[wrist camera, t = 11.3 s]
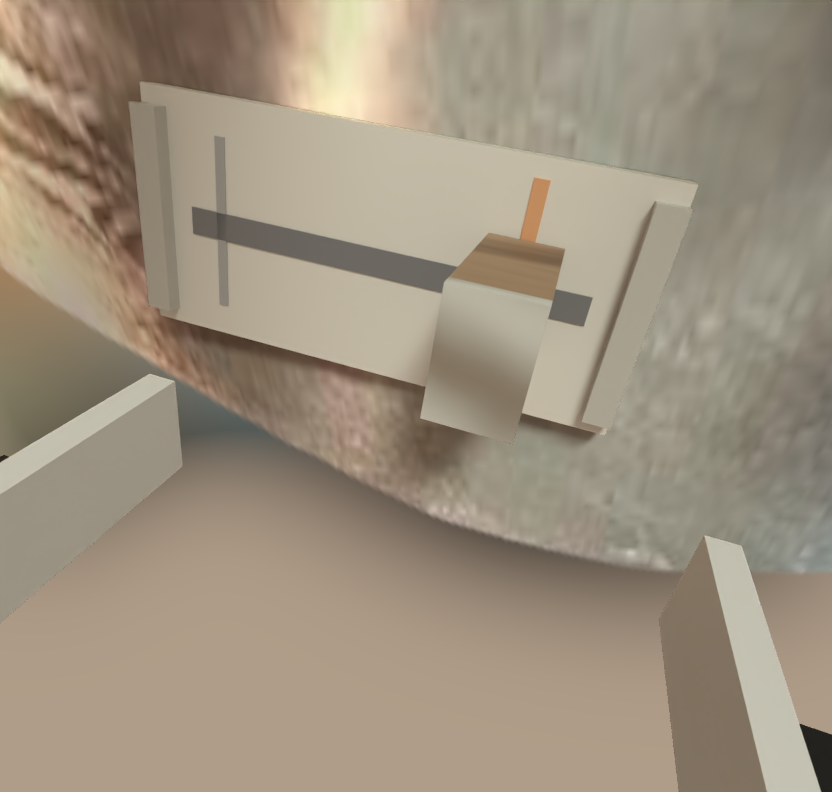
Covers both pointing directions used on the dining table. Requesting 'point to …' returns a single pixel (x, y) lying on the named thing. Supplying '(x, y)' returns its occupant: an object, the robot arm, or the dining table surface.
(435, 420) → the fader knob
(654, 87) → the dining table surface
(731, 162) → the dining table surface
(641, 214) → the slider console
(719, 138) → the dining table surface
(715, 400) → the dining table surface
